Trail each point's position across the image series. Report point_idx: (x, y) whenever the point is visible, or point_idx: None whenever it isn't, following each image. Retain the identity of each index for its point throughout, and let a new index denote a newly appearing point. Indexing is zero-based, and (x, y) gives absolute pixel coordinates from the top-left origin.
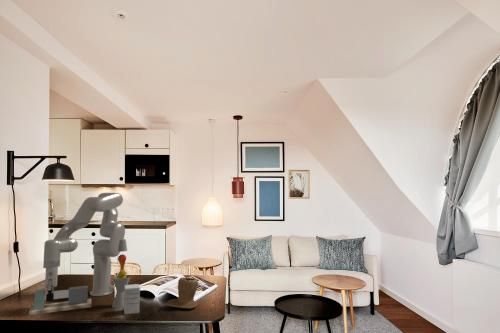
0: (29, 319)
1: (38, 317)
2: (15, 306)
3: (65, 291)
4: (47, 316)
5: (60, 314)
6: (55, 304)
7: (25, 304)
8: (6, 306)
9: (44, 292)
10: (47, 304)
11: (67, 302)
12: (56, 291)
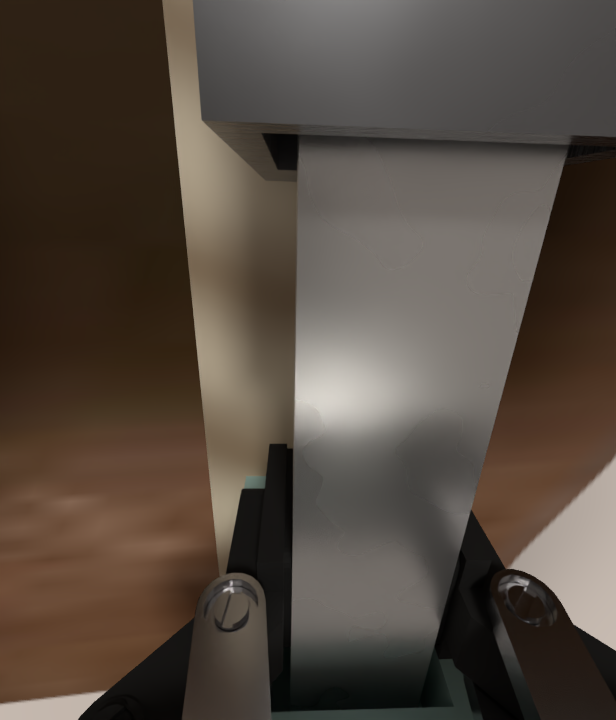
0: (544, 528)
1: (541, 475)
2: (96, 645)
3: (530, 282)
4: (572, 407)
5: (607, 283)
6: (275, 366)
7: (52, 598)
8: (77, 686)
9: (437, 716)
10: (232, 451)
11: (242, 198)
12: (360, 515)
